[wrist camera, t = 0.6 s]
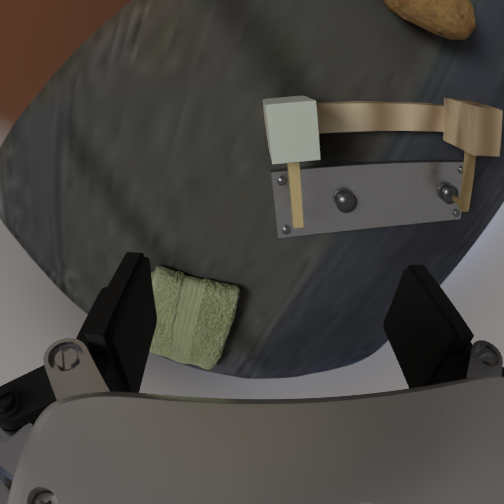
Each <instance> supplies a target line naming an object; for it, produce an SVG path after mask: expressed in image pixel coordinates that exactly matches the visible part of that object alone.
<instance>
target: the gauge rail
mask: <svg viewBox="0 0 504 504" xmlns="http://www.w3.org/2000/svg"><path fill="white" fill-rule="evenodd" d="M316 106H317V118H318V131H319V134H320V133H336V132H359V131H436V132H444V133H443V140H444V141H446V142H448V143H450V144H452V145H454V146H456V147H458V148H460V149H462V150H464V151H465V153H464V164H463V174H462V183H461V191H460V198H459V197H457V196H456V195H453V196H452V201H454V202H455V203H456V204H457V205H458V209H459V210H461V211H462V212H467V211H469V206H470V200H471V193H472V186H473V178H474V170H475V160H476V156H498V157H499V155H500V144H501V131H502V110H500V109H497V108H493V107H490V106H487V105H483V104H480V103H476V102H473V101H468V100H460V99H452V98H444V104H432V103H417V102H392V101H344V102H319V103H316ZM263 110H264V107H263ZM264 118H265V114H264ZM265 126H266V122H265ZM266 134H267V130H266Z"/></svg>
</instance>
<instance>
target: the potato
mask: <svg viewBox="0 0 504 504" xmlns="http://www.w3.org/2000/svg"><path fill="white" fill-rule="evenodd" d="M382 1H383V2H384V3H385V5H386V6H387V7H388V8H389V9H390V10H391V11H392V12H394V13H395V14H397V15H398V16H400V17H401V18H403V19H405V20H407V21H409V22H411V23H413V24H416V25H418V26H420V27H422V28H424V29H426V30H428V31H429V32H432V33H434V34H436V35H439V36H442V37H445V38H447V39H450V40H465V39H467V38H468V37H469V36H470V34H471V33H472V31H473V30H474V28H475V27H476V22H475V16H474V11H473V5H472V3H471V1H470V0H382Z"/></svg>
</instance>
